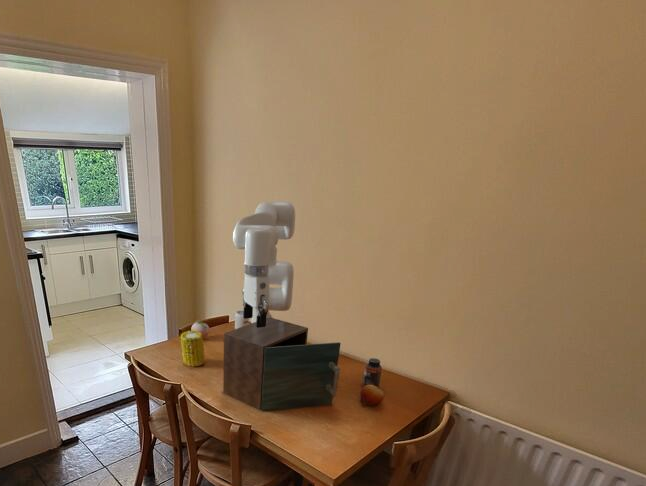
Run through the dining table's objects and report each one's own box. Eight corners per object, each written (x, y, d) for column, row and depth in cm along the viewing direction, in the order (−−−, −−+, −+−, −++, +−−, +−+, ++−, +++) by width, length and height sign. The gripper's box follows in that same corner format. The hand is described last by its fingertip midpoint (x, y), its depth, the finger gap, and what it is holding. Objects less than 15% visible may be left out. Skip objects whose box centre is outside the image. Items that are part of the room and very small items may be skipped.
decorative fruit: (187, 339, 207) (187, 320, 202) (199, 335, 212) (198, 316, 208) (201, 344, 201) (200, 324, 197) (212, 339, 206) (212, 320, 202)
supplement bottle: (378, 384, 161) (383, 358, 156) (378, 391, 156) (383, 364, 151) (362, 382, 163) (366, 356, 158) (362, 389, 158) (366, 362, 153)
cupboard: (302, 385, 160) (308, 327, 150) (260, 410, 144) (263, 346, 134) (266, 371, 172) (269, 317, 162) (223, 392, 156) (223, 333, 145)
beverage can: (244, 337, 208) (244, 315, 203) (232, 335, 211) (232, 313, 206) (250, 333, 213) (251, 311, 208) (238, 331, 217) (239, 309, 212)
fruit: (350, 394, 150) (364, 377, 148) (366, 403, 153) (380, 387, 150) (359, 406, 143) (374, 388, 140) (376, 415, 145) (391, 397, 143)
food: (208, 365, 181) (190, 373, 176) (191, 352, 188) (174, 359, 182) (212, 337, 172) (193, 344, 166) (194, 324, 179) (176, 330, 173)
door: (339, 412, 142) (348, 349, 132) (266, 419, 138) (270, 355, 128) (331, 403, 148) (339, 342, 137) (261, 409, 144) (264, 347, 134)
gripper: (280, 274, 121) (277, 329, 129) (255, 264, 136) (253, 313, 143) (258, 276, 119) (255, 332, 126) (234, 265, 134) (233, 316, 141)
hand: (254, 322), depth 135 cm, fingers open, 9 cm apart
